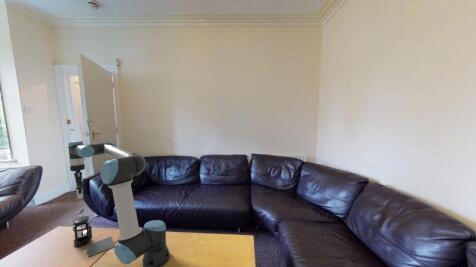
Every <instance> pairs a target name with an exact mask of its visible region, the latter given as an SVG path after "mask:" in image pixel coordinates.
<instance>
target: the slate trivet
mask: <svg viewBox="0 0 476 267" xmlns="http://www.w3.org/2000/svg"><path fill="white" fill-rule="evenodd" d="M115 245H116V244H115V243H114V240H113V238H112V236H108V237H106V238H103V239H100V240H97V241H94V242H92V243H91V242H90V243H88V244H87V245H85V247H86V253H87V258H91V257H93V256H95V255H97V254H100V253H104V252H106V251H108V250H111V249H112V248H115Z"/></svg>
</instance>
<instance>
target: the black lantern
mask: <svg viewBox="0 0 476 267" xmlns="http://www.w3.org/2000/svg"><path fill="white" fill-rule="evenodd" d="M84 211H85V209H79V210H77V211H76V212H75V213H76V214H77V213H78V214H79V217H77V218H75V219H72V221H71V223H72V224H73V228H72V231H73V232H74V235H73V237H74V239H73V247H74V248H80V247H81V248H82V247H84V246H86V245H89V244H91V241H92V238H93V231H92V229H93V228H92V225H91V223H90V222H89V221H90V216H89V215H84V216H83V215H82V213H83V212H84ZM83 225H85V227H83ZM78 227H81V228H80V229H78Z"/></svg>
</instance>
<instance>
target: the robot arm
mask: <svg viewBox="0 0 476 267" xmlns="http://www.w3.org/2000/svg"><path fill="white" fill-rule="evenodd" d="M67 146H68V147H67V148H68V156H69V159H68V160H69V161H68V162H69V169H70V170H69V171H70V172H74V173H73V176H74V179H75V190H76V194H77V200H80V199H83V198H84V190H83V189H84V188H83V181H82V179H83V170H85V169H86V165H85V161H86V159H87V158H91V157H92V156H98V155H105V156H108V157H110V158H112V159H110V160H106V161H104V162H103V164H102V165H101V168H100V178H101V179H100V180H101V181H102V183H103V184H105V185H107V187H108V188H110V189H111V190H112V195H113V200H114V207H115V212H116V217H117V223H118V228H119V236H118V237H117V243H116V244H114V245H115V247H113V248H114V254H115V256H116V259H118V260H119V262H120V263H121V264H123V265H129V264H131V263H133V262H134V261H137V259H139V258H140V257H142V267H163V266H164V265H165V264H166V263H168V262H169V260H170V257H171V253H170V250H169V248H168V245H167V232H166V231H167V226H166V223H165V222H164V221H163V220H160V219H157V220H156V219H155V220H150V221H147V222H145V223H144V226H143V228H142V227H140V225H139V222H138V217H137V216H138V215H137V210H136V207H135V200H134V194H133V190H132V185H131V184H132V182H134V178H133V177H136V176H139V175H140V174H141V173H143V172H144V170H145V169H146V164H147V162H146V159H145V157H144V156H143V155H141V154H139V153H136V152H133V153H132V152H129V151H128V150H125V149H122V148H120V147H117V146H116V143H114V142H111V141H110V142H109V141H108V142H101V143H93V144H84V142H83V140H73V141H69V142H68V144H67Z"/></svg>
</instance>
